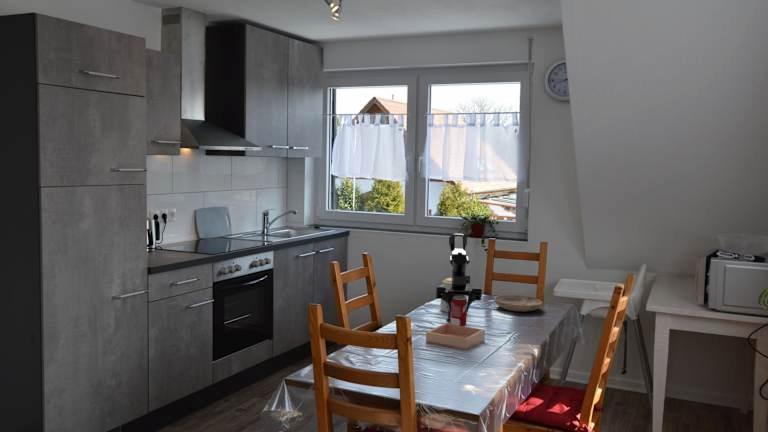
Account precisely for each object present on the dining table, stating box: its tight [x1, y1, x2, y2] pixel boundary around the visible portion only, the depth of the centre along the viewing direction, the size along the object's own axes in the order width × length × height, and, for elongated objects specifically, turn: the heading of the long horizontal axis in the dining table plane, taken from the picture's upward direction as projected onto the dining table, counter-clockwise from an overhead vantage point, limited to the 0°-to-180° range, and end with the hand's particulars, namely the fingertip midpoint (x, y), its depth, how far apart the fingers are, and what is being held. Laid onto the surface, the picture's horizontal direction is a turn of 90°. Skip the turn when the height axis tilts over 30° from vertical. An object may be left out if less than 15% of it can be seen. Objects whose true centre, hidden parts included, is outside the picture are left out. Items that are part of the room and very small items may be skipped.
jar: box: [439, 277, 468, 313], centre depth 337 cm, size 13×13×18 cm
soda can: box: [449, 296, 468, 328], centre depth 282 cm, size 7×7×12 cm
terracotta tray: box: [425, 322, 486, 352], centre depth 283 cm, size 18×18×4 cm
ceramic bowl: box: [494, 294, 543, 313], centre depth 343 cm, size 23×24×5 cm
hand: (458, 310), depth 280 cm, fingers closed on soda can, 6 cm apart
